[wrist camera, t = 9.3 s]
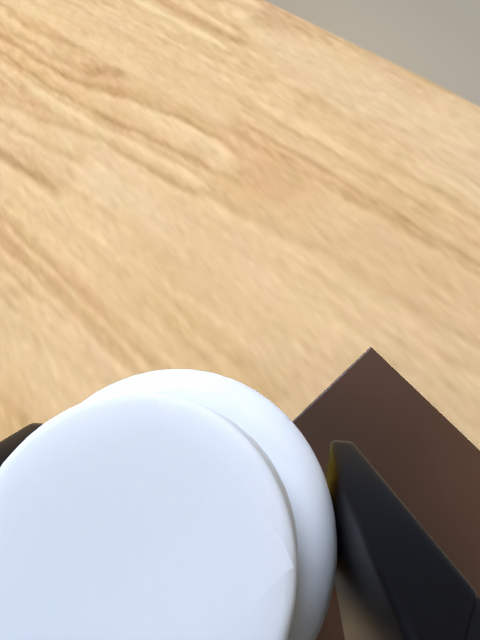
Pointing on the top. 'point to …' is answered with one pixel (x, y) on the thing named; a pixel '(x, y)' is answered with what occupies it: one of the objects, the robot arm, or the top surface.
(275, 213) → the top surface
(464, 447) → the walnut shelf
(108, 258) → the top surface
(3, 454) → the robot arm
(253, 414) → the supplement bottle
